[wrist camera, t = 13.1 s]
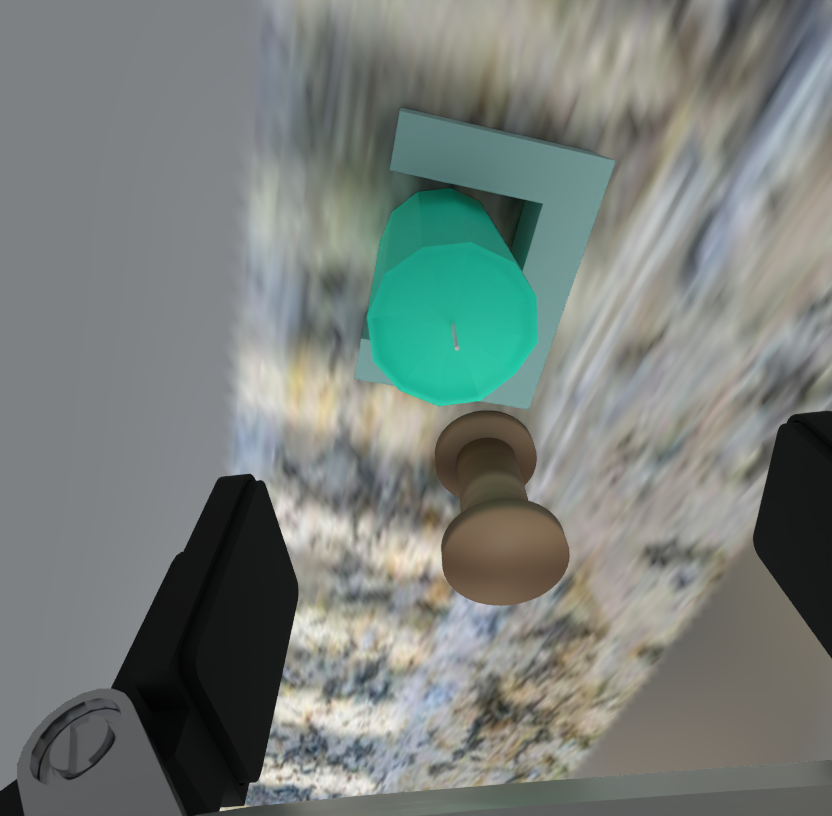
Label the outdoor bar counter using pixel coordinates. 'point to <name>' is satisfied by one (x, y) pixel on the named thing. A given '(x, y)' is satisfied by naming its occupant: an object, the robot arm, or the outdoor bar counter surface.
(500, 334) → the candle
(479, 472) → the bobbin
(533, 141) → the notch board
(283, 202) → the outdoor bar counter surface
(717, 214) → the outdoor bar counter surface
